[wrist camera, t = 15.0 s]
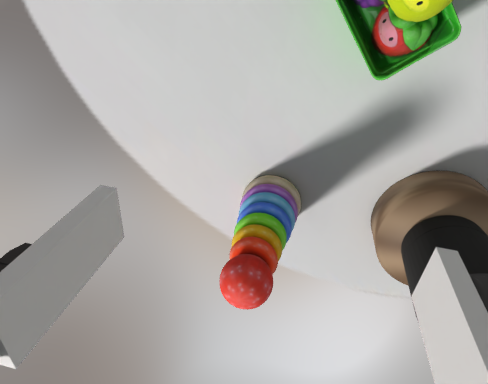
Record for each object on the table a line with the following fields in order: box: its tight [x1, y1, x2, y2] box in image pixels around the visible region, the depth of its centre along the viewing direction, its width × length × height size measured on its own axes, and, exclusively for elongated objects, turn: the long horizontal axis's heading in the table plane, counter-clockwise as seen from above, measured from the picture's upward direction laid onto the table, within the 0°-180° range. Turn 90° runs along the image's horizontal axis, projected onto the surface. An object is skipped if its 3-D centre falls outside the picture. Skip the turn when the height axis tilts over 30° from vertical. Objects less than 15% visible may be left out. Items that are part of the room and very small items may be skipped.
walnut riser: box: [371, 171, 488, 286], centre depth 40 cm, size 14×14×5 cm
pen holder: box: [401, 215, 488, 320], centre depth 34 cm, size 9×9×10 cm
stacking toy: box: [220, 175, 301, 309], centre depth 38 cm, size 8×8×19 cm
